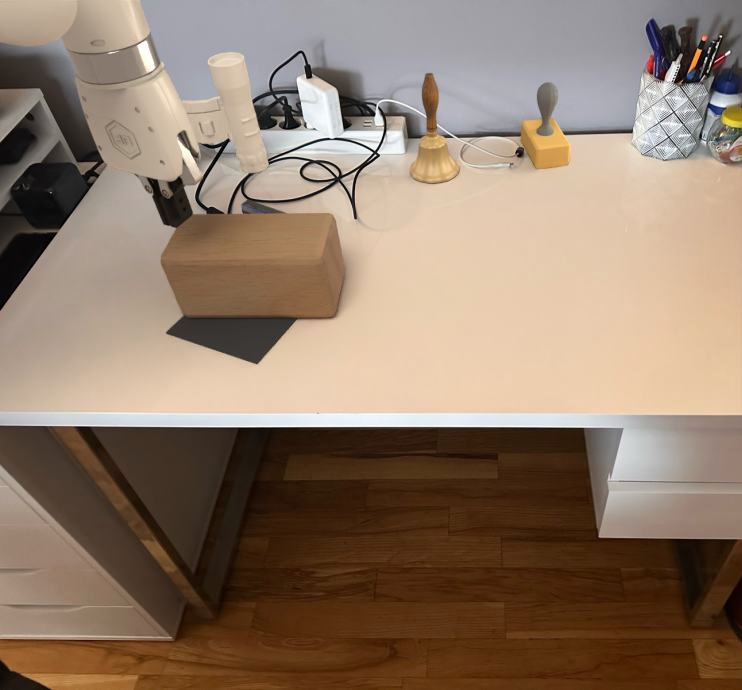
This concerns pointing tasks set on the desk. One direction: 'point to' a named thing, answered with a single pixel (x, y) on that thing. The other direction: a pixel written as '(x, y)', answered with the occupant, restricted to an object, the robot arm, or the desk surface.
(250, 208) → the mini dv tape
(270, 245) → the block
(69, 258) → the desk surface
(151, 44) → the robot arm
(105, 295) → the desk surface
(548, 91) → the rubber stamp
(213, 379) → the desk surface
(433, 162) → the hand bell
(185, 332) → the mat
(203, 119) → the binoculars
